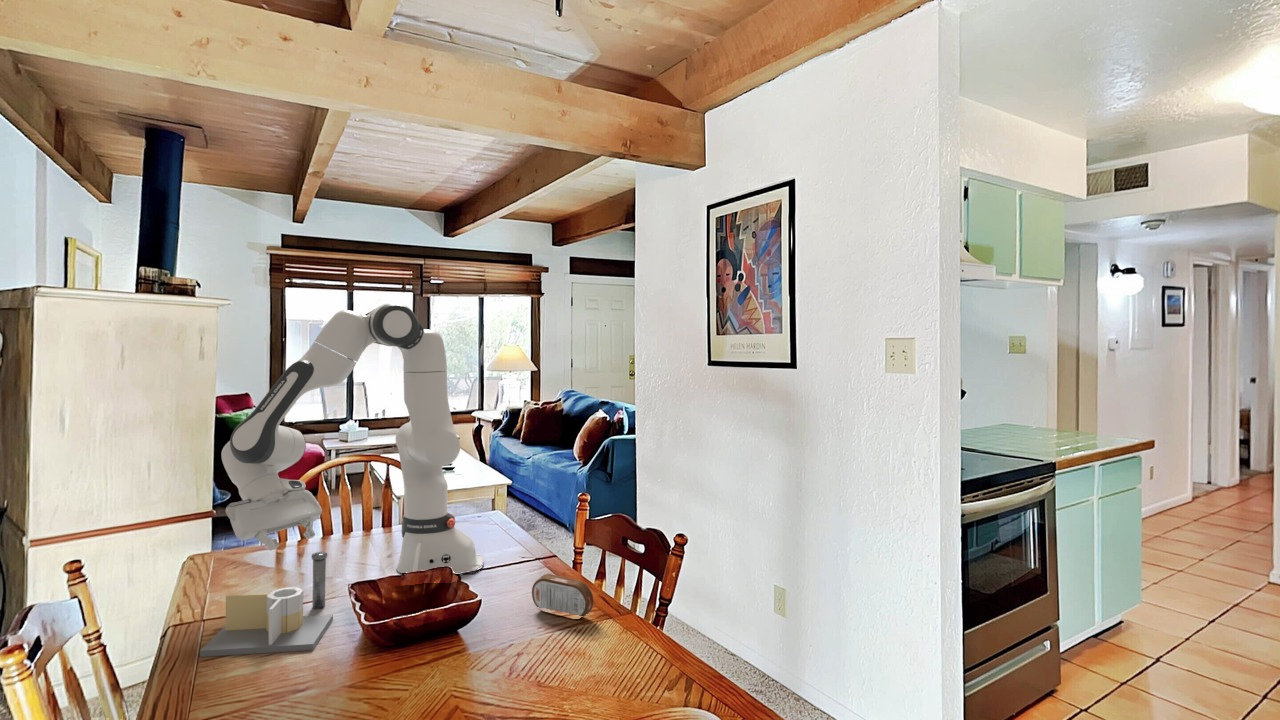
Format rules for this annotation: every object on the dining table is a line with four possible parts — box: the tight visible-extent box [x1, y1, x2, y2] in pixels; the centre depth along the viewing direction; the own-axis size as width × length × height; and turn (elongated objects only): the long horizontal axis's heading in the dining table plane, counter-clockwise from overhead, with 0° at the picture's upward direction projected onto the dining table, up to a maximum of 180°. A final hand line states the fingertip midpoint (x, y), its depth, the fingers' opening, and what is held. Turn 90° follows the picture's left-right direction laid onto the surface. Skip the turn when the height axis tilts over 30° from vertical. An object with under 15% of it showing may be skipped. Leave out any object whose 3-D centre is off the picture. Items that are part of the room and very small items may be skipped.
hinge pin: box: [311, 551, 328, 610], centre depth 148 cm, size 3×3×12 cm
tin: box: [531, 573, 594, 617], centre depth 146 cm, size 15×3×8 cm, turn 65°
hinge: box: [199, 586, 334, 658], centre depth 132 cm, size 20×14×8 cm
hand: (293, 542), depth 151 cm, fingers open, 8 cm apart
